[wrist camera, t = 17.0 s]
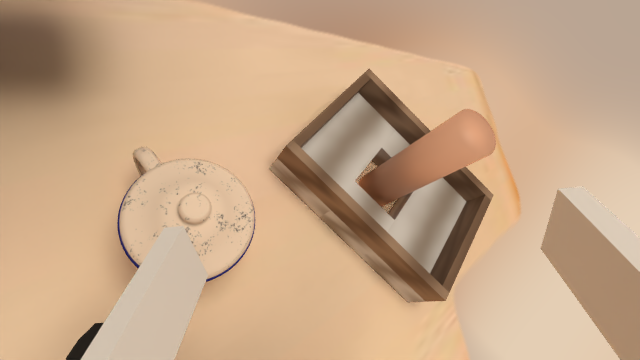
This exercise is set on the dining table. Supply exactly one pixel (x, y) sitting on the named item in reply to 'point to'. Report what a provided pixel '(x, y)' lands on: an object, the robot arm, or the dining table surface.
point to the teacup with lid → (187, 210)
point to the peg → (431, 157)
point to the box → (365, 213)
